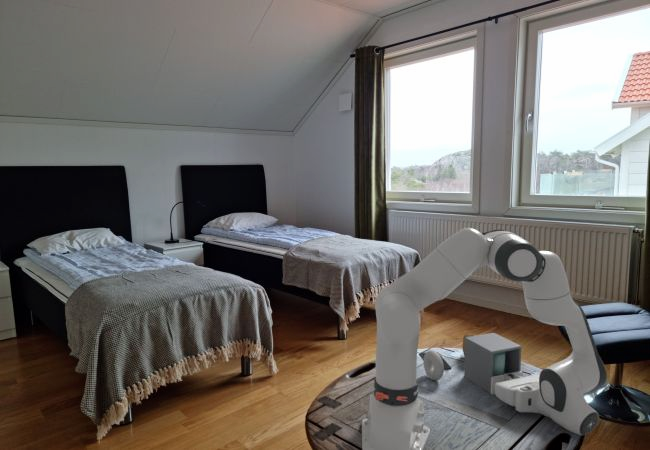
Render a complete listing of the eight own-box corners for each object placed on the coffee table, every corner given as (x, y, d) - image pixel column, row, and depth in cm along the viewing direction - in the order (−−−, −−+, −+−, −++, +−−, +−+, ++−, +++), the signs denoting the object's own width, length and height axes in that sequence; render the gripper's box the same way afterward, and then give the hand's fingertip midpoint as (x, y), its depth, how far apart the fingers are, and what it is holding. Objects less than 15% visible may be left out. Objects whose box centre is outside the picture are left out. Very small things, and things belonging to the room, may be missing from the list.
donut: (445, 384, 152) (446, 356, 150) (436, 386, 150) (437, 357, 149) (429, 372, 161) (430, 345, 160) (421, 373, 160) (421, 346, 159)
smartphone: (437, 353, 178) (437, 351, 178) (452, 370, 163) (452, 368, 163) (418, 354, 177) (418, 352, 177) (431, 371, 162) (431, 369, 162)
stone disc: (460, 354, 175) (460, 330, 174) (469, 354, 176) (470, 329, 175) (472, 366, 165) (472, 340, 164) (481, 365, 166) (482, 339, 164)
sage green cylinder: (505, 383, 148) (506, 355, 147) (488, 381, 149) (489, 354, 148) (502, 375, 153) (503, 349, 152) (485, 374, 155) (486, 347, 153)
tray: (521, 387, 149) (522, 371, 148) (492, 394, 144) (492, 378, 144) (496, 372, 160) (497, 357, 159) (468, 378, 155) (468, 363, 155)
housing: (519, 386, 150) (521, 346, 148) (490, 393, 145) (491, 351, 144) (492, 370, 162) (493, 332, 160) (464, 376, 157) (465, 337, 156)
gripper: (569, 380, 136) (533, 361, 149) (515, 392, 129) (482, 372, 142) (568, 399, 137) (532, 380, 150) (514, 413, 130) (482, 391, 143)
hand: (508, 376), depth 146 cm, fingers closed, pressing on tray
